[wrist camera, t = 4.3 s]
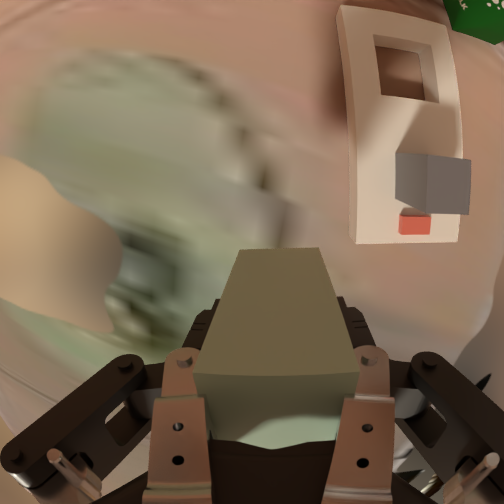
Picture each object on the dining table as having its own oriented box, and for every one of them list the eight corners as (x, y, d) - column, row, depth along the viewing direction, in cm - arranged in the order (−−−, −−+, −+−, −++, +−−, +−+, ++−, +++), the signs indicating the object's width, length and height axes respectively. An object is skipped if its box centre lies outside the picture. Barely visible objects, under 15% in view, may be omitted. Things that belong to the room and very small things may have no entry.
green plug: (239, 249, 15) (192, 372, 6) (318, 247, 15) (360, 371, 6) (245, 316, 16) (215, 453, 8) (316, 315, 16) (337, 454, 7)
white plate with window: (335, 17, 20) (354, -29, 11) (433, 34, 19) (476, 6, 10) (348, 234, 27) (375, 270, 19) (443, 233, 26) (491, 264, 17)
